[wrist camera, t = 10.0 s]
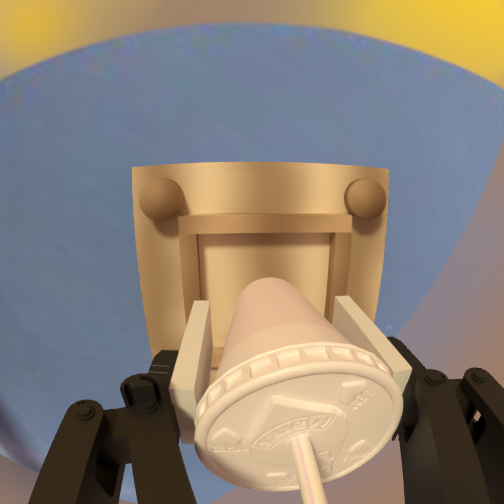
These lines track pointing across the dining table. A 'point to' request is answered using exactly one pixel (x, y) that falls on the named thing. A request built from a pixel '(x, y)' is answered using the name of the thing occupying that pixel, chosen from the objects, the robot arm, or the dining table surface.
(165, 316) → the base brick
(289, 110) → the dining table surface
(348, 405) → the smoothie
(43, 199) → the dining table surface
